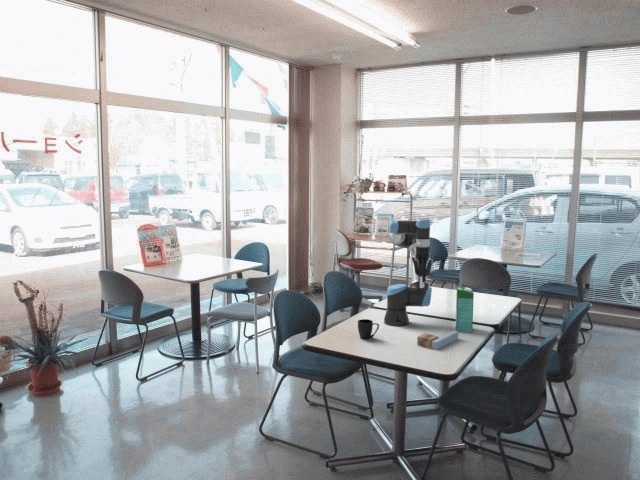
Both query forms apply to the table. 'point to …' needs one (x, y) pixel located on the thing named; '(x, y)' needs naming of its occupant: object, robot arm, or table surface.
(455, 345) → the table surface
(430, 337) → the block
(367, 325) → the mug
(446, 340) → the pale blue bar
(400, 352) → the table surface
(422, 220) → the robot arm
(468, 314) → the milk carton
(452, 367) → the table surface
